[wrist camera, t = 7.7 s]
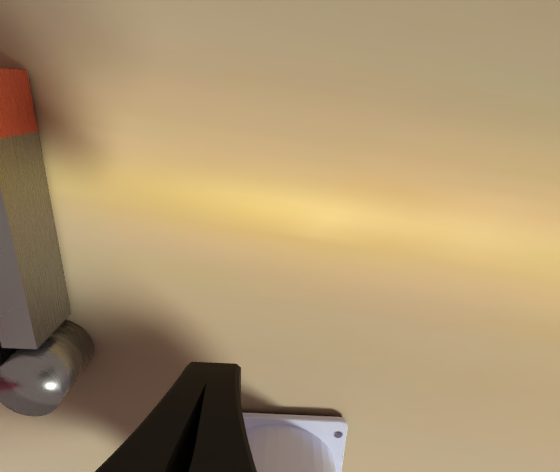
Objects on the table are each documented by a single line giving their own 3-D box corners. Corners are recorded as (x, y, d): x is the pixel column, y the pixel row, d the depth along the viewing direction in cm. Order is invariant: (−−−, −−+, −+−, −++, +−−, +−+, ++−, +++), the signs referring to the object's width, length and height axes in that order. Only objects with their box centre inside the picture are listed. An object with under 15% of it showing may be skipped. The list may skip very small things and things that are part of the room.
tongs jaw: (71, 313, 21) (37, 349, 18) (40, 312, 21) (2, 347, 18) (26, 69, 16) (-27, 66, 14) (-12, 68, 16) (-74, 65, 14)
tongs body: (97, 369, 22) (65, 417, 19) (12, 366, 22) (-34, 413, 19) (50, 71, 16) (-6, 67, 13) (-63, 65, 16) (-146, 61, 13)
